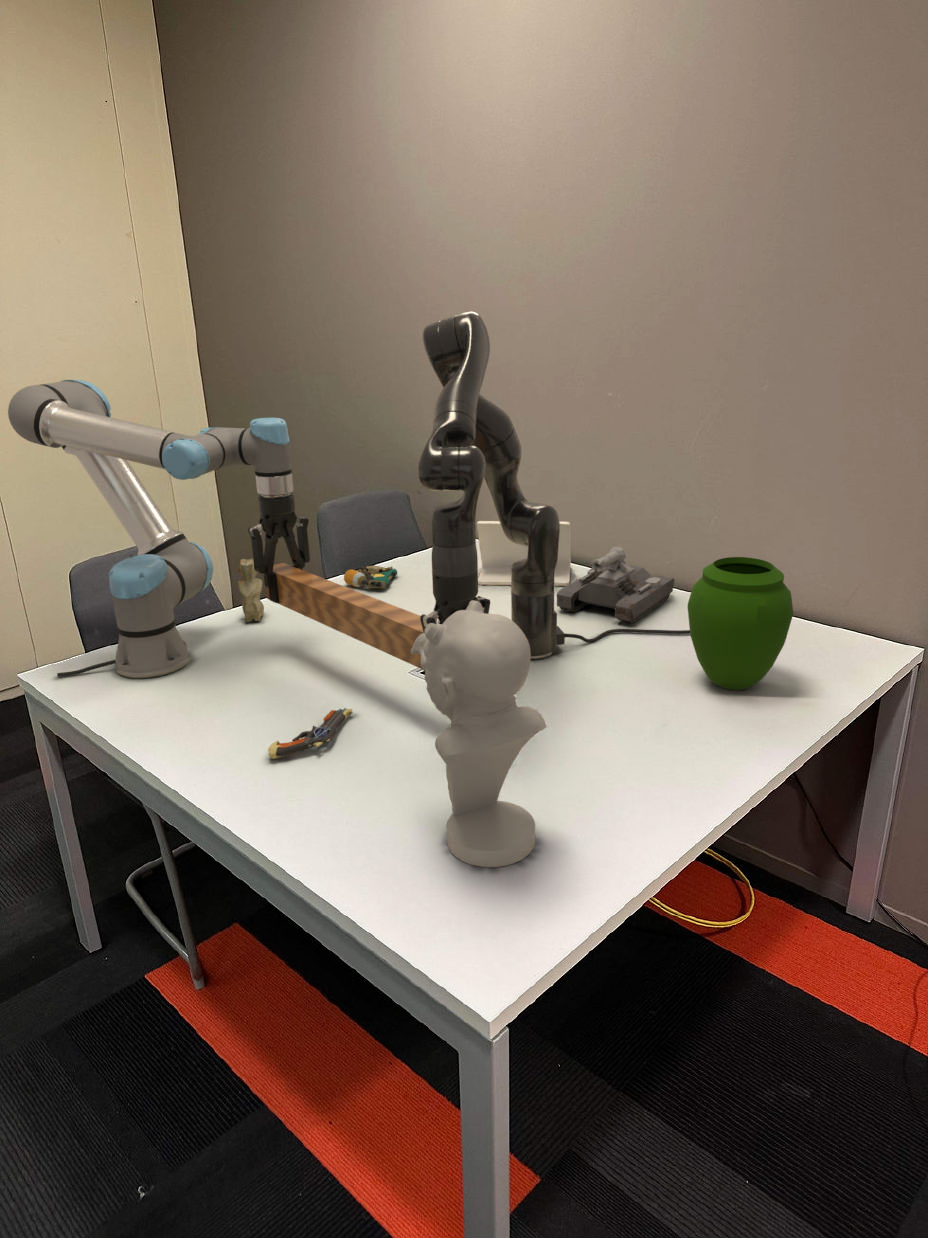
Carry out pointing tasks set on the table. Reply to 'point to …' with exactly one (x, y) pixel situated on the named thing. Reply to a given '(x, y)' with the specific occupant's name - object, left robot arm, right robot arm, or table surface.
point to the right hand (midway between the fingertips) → (457, 662)
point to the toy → (616, 588)
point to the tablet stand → (515, 554)
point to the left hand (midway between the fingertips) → (285, 598)
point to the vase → (739, 620)
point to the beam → (349, 612)
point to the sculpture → (250, 590)
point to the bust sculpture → (481, 729)
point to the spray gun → (370, 576)
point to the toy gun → (311, 735)
